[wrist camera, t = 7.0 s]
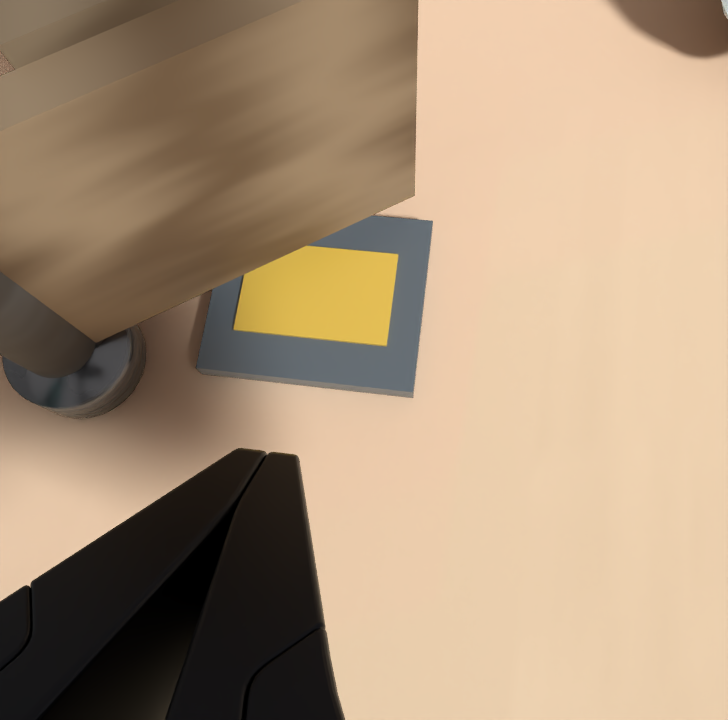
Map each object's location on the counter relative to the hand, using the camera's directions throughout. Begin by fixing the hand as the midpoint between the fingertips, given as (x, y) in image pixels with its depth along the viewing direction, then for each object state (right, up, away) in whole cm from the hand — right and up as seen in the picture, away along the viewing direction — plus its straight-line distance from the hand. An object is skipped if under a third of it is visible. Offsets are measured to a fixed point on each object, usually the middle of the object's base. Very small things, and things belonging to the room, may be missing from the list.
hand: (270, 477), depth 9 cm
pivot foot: (-8, +2, +14) cm, 16 cm away
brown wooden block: (-4, +6, +13) cm, 15 cm away
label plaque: (0, +4, +14) cm, 14 cm away
